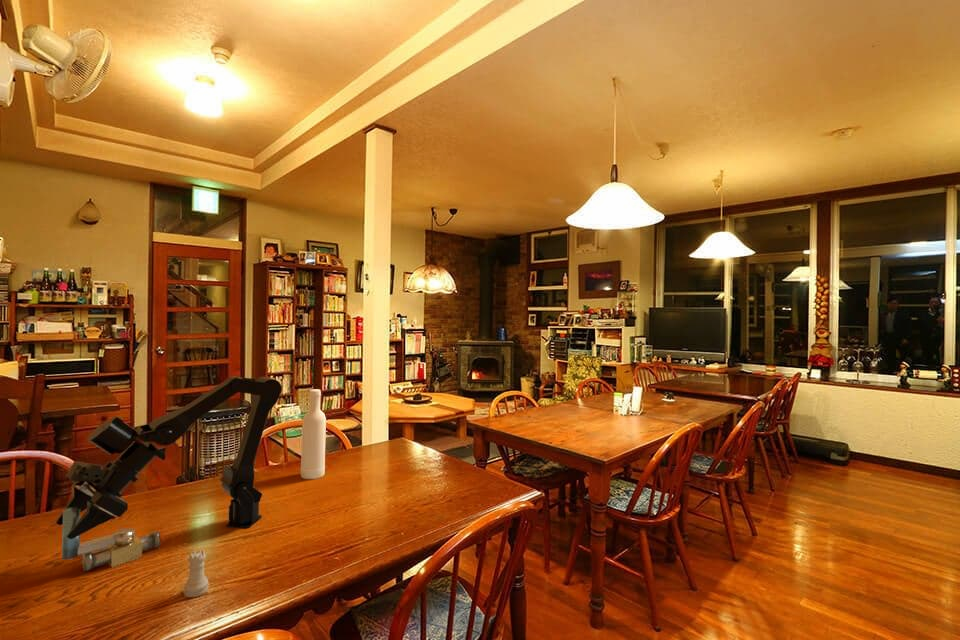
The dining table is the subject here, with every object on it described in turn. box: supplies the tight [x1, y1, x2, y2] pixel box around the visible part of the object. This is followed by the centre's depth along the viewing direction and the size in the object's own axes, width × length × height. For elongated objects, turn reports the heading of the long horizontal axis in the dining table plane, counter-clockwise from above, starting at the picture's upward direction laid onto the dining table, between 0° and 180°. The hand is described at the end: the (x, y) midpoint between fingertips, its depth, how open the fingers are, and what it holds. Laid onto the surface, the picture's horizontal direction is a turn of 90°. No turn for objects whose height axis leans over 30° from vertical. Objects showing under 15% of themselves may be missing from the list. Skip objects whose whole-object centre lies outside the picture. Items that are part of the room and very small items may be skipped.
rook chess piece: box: [183, 549, 210, 599], centre depth 93 cm, size 4×4×8 cm
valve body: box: [81, 530, 162, 572], centre depth 104 cm, size 14×6×4 cm, turn 143°
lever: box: [61, 507, 135, 560], centre depth 101 cm, size 12×4×10 cm, turn 139°
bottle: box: [300, 388, 327, 480], centre depth 159 cm, size 8×8×30 cm
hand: (63, 530), depth 96 cm, fingers open, 9 cm apart
